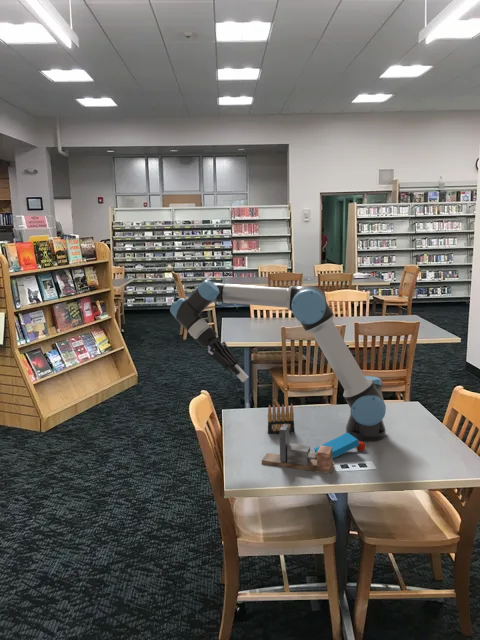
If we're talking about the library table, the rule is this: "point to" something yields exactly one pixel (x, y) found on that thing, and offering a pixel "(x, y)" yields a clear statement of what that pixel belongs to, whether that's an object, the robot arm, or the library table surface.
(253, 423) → the library table surface
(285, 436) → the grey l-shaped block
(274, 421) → the ammunition clip
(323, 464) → the wooden bar with block
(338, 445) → the blue block
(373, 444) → the library table surface
